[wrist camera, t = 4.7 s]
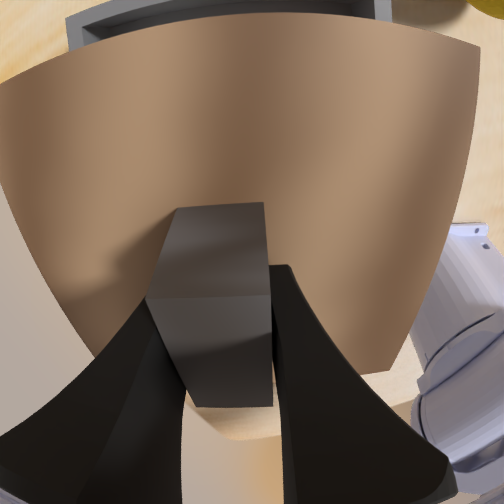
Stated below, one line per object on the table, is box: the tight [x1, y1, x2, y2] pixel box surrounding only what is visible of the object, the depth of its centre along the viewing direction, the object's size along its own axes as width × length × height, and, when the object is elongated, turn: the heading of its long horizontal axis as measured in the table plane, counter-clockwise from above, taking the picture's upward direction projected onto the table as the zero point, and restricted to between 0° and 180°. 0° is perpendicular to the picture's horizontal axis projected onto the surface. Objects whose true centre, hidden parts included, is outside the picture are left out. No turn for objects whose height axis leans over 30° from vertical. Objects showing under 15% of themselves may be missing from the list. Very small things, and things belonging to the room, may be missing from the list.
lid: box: [0, 13, 480, 408], centre depth 9 cm, size 15×15×4 cm
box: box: [65, 0, 392, 52], centre depth 14 cm, size 14×14×4 cm
